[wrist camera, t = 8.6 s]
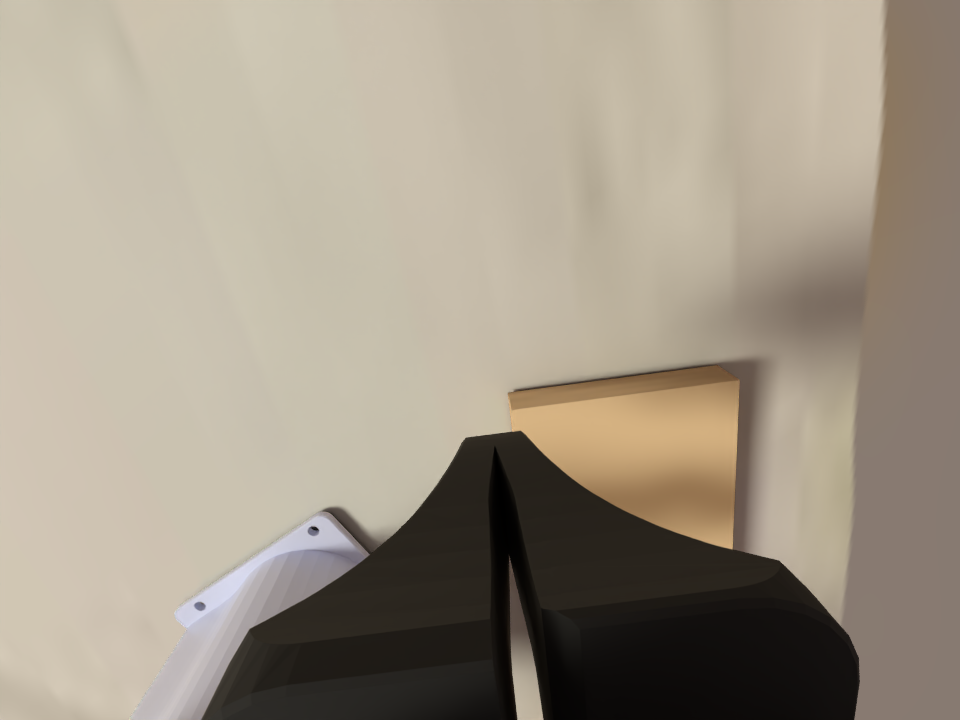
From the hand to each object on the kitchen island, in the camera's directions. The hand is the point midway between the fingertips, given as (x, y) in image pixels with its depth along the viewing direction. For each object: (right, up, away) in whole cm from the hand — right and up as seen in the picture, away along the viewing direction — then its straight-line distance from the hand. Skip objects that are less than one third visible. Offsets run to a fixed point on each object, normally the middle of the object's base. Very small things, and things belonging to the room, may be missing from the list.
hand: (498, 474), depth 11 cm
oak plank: (+6, -3, +12) cm, 14 cm away
